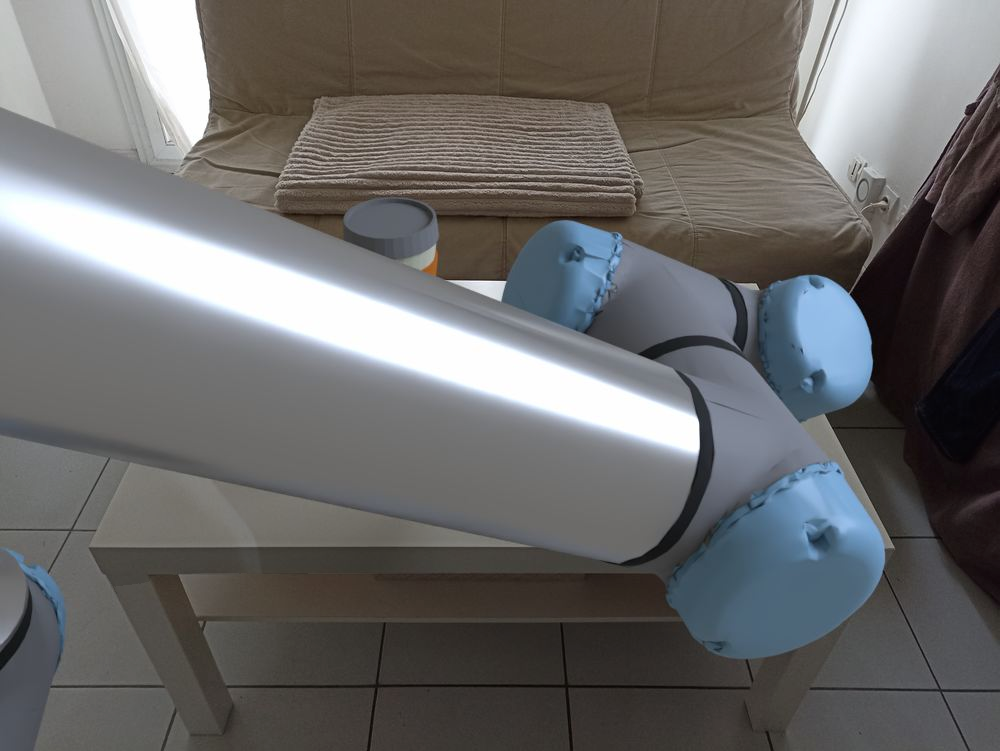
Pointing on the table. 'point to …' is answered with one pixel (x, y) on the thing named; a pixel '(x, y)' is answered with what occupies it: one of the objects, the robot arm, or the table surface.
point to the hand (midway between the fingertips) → (485, 448)
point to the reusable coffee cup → (395, 230)
